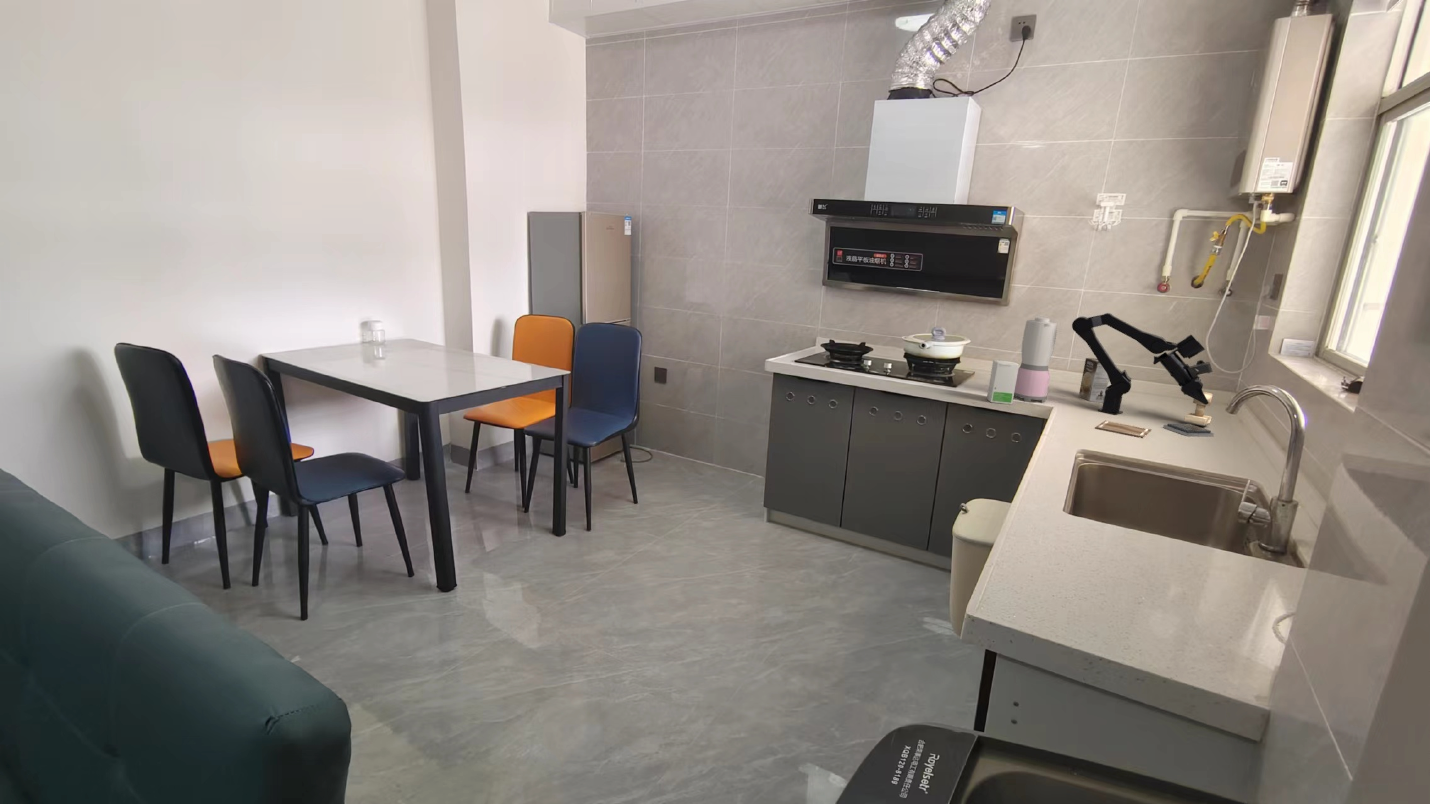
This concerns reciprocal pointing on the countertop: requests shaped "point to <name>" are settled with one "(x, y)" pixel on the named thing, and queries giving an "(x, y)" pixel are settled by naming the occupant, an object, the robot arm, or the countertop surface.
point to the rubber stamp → (1199, 412)
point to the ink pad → (1188, 430)
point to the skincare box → (1002, 382)
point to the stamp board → (1123, 429)
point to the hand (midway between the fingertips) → (1206, 402)
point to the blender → (1035, 359)
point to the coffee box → (1093, 381)
